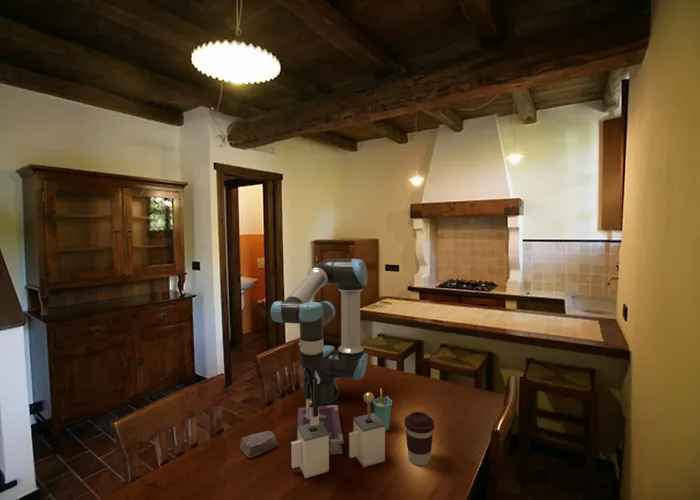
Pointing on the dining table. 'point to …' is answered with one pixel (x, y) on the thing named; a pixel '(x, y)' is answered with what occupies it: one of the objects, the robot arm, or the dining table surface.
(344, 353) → the robot arm
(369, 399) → the plunger
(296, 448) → the cream joystick box
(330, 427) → the book
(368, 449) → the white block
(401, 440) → the dining table surface
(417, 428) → the coffee cup
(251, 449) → the stone
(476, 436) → the dining table surface
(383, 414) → the cup
